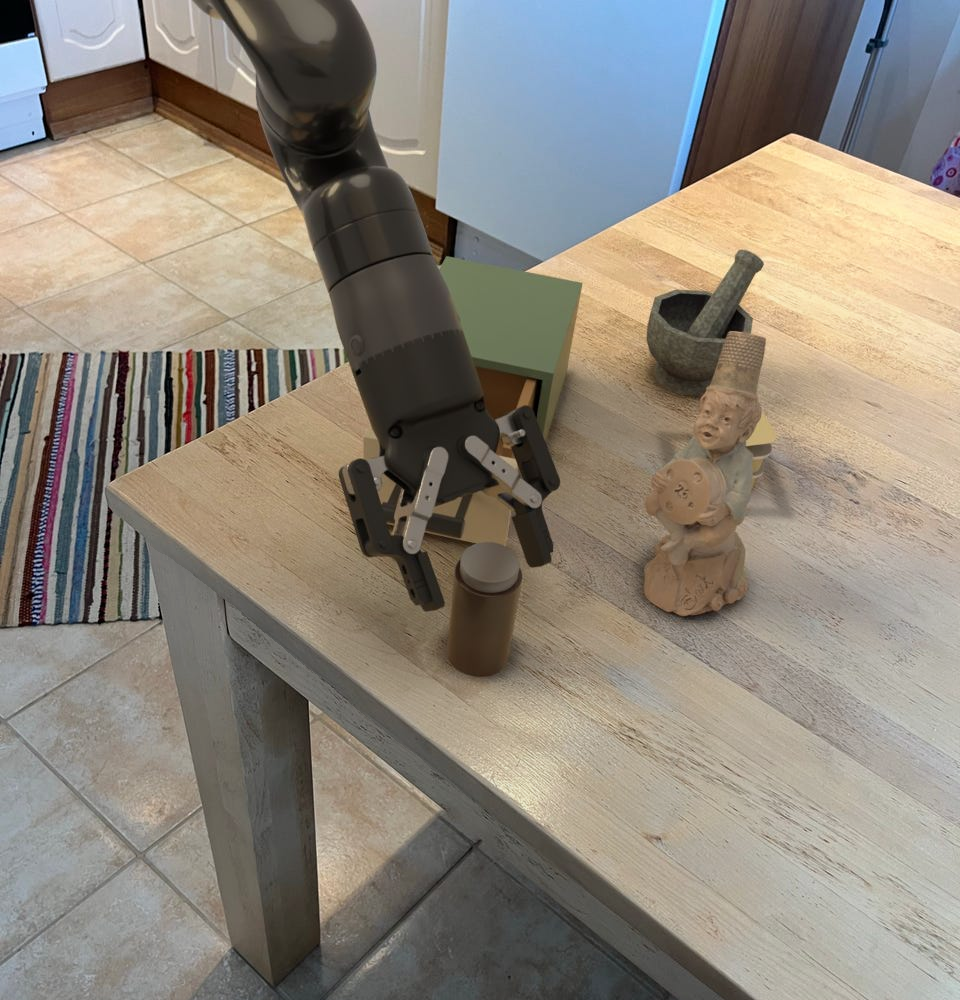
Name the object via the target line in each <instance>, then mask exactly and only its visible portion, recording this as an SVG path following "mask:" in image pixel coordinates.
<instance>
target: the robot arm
mask: <svg viewBox="0 0 960 1000" xmlns="http://www.w3.org/2000/svg"><path fill="white" fill-rule="evenodd" d="M191 1H192V2H193V4H195V5H196V6H197V8H198V9H199V10H200V11H202V12H203V13H204V14H206V15H207V16H209V17H211V18H213V19H216V20H222V21H223V22H224V24H225V25H226V26H227V28H228V29H229V30H230V32H231V33H232V35H234V37H235V39H236V40H237V41H238V43H239V44H240V45H241V47H242V49H243V50H244V52H245V53H246V55H247V57H248V59H249V61H250V63H251V65H252V67H253V69H254V71H255V102H256V108H257V113H258V117H259V120H260V123H261V127H262V130H263V133H264V136H265V139H266V141H267V144H268V146H269V149H270V151H271V154H272V156H273V158H274V161H275V163H276V165H277V167H278V169H279V172H280V174H281V176H282V178H283V180H284V182H285V184H286V186H287V188H288V191H289V193H290V194H291V197H292V198H293V200H294V203H295V204H296V207H297V209H298V210H299V211H300V214H301V215H302V218H303V221H304V224H305V227H306V231H307V235H308V239H309V242H310V246H311V249H312V251H313V254H314V257H315V260H316V263H317V265H318V268H319V271H320V274H321V276H322V277H321V278H322V279H323V283H324V285H325V288H326V290H327V291H326V292H327V293H328V296H329V300H330V304H331V307H332V311H333V316H334V321H335V325H336V330H337V333H338V336H339V339H340V342H341V345H342V347H343V351H344V354H345V356H346V358H347V359H346V360H347V361H348V364H349V367H350V370H351V373H352V376H353V379H354V383H355V384H356V387H357V390H358V392H359V393H358V394H359V395H360V399H361V401H362V404H363V407H364V409H365V412H366V415H367V418H368V421H369V424H370V426H371V427H370V428H371V429H373V432H374V434H375V435H376V437H377V439H378V442H379V447H380V452H379V457H376V458H372V459H368V460H364V459H363V458H362V457H361V458H360V457H359V458H356V459H353V460H351V461H349V462H347V463H346V464H344V465H343V466H341V467H340V469H339V471H338V478H339V481H340V486H341V489H342V492H343V495H344V498H345V503H346V505H347V508H348V512H349V515H350V518H351V522H352V525H353V528H354V532H355V535H356V538H357V542H358V545H359V548H360V551H361V553H362V555H363V556H365V557H367V558H374V557H377V558H378V557H379V558H384V557H385V558H386V557H387V558H391V559H393V560H394V561H395V562H396V563H397V566H398V568H399V571H400V575H401V577H402V579H403V582H404V584H405V588H406V590H407V594H408V596H409V599H410V600H411V602H412V603H413V604H414V605H415V607H416V606H420V607H421V609H422V610H423V611H424V612H425V613H426V612H434V611H437V610H439V609H442V608H444V607H445V605H446V604H445V603H446V602H445V599H444V596H443V593H442V590H441V587H440V585H439V582H438V580H437V576H436V574H435V570H434V568H433V565H432V562H431V560H430V557H429V554H428V551H427V550H426V551H422V550H421V547H422V543H423V540H424V536H425V533H426V532H425V529H426V525H427V522H428V521H429V520H430V518H431V516H432V514H433V510H434V507H436V506H439V505H442V504H445V503H447V502H450V501H453V500H455V499H457V498H458V497H464V496H467V495H470V494H473V493H476V492H478V491H482V492H483V493H485V494H486V495H488V496H491V497H494V498H496V499H497V500H499V501H500V502H501V503H502V504H504V505H505V506H506V507H508V508H509V509H510V510H512V511H511V512H513V513H515V515H513V516H511V518H510V519H511V521H512V524H513V527H514V530H515V533H516V535H517V538H518V541H519V544H520V547H521V550H522V554H523V556H524V559H525V562H526V564H527V565H528V567H529V568H532V569H533V568H539V567H544V566H545V565H548V564H550V563H551V562H552V553H554V541H553V538H552V536H551V532H550V530H549V527H548V523H547V521H546V518H545V515H544V512H543V506H542V505H543V503H544V501H545V500H546V498H547V497H548V496H549V495H550V494H552V493H553V492H555V491H557V490H558V489H559V488H560V487H561V479H560V476H559V474H558V471H557V468H556V465H555V463H554V460H553V458H552V455H551V453H550V450H549V447H548V445H547V443H546V442H547V441H546V442H545V440H544V437H543V435H542V432H541V429H540V427H539V424H538V422H537V419H536V416H535V414H534V411H533V409H532V408H531V407H530V406H527V405H524V406H522V407H519V408H517V409H515V410H513V411H511V412H509V413H506V414H505V415H503V417H501V418H498V419H496V420H494V419H493V418H492V417H491V416H490V414H489V413H488V412H487V410H486V408H485V405H484V395H483V389H482V386H481V383H480V380H479V377H478V374H477V371H476V368H475V365H474V362H473V359H472V357H471V354H470V351H469V347H468V344H467V342H466V339H465V335H464V333H463V330H462V327H461V324H460V319H459V316H458V314H457V312H456V309H455V306H454V303H453V300H452V297H451V294H450V292H449V289H448V287H447V285H446V283H445V281H444V279H443V277H442V275H441V273H440V271H439V269H440V268H439V266H438V263H437V261H436V259H435V257H434V253H433V250H432V248H431V244H430V241H429V239H428V236H427V235H428V234H427V233H426V230H425V227H424V224H423V223H424V222H423V221H422V218H421V215H420V211H419V209H418V206H417V204H416V200H415V197H414V196H413V194H412V191H411V189H410V188H409V186H408V184H407V182H406V180H405V179H404V178H403V176H402V175H401V174H400V173H399V172H397V171H396V170H394V169H392V168H389V166H388V163H387V161H386V157H385V155H384V152H383V150H382V147H381V145H380V142H379V139H378V137H377V135H376V131H375V128H374V126H373V120H372V116H371V111H370V106H371V101H372V97H373V94H374V90H375V85H376V80H377V74H378V73H377V72H378V71H377V70H378V69H377V67H378V66H377V55H376V50H375V46H374V43H373V39H372V37H371V34H370V32H369V29H368V27H367V25H366V23H365V21H364V19H363V18H362V16H361V13H360V12H359V9H358V8H357V7H356V5H355V3H354V1H352V0H191ZM500 437H501V438H502V441H503V442H504V443H505V444H506V445H507V446H510V447H511V449H512V452H513V454H514V457H515V459H516V462H517V465H518V467H519V470H520V471H519V472H518V471H517V470H516V469H514V468H513V467H512V466H511V465H509V464H508V463H507V462H506V461H504V460H503V459H502V458H501V457H499V456H498V455H497V454H496V451H497V447H498V442H499V438H500ZM382 474H384V475H385V476H387V477H388V478H389V479H390V480H392V481H393V482H394V483H396V484H397V485H398V486H399V487H401V492H400V496H399V499H398V503H397V507H396V511H395V515H394V519H395V524H394V525H393V529H392V532H390V529H389V526H388V525H389V524H387V522H386V519H385V515H384V512H383V508H382V505H381V502H380V498H379V495H378V491H379V490H380V489H381V487H382ZM407 504H408V505H407Z"/></svg>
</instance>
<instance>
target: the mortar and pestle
mask: <svg viewBox="0 0 960 1000" xmlns="http://www.w3.org/2000/svg"><path fill="white" fill-rule="evenodd" d="M764 266H765V264H764V261H763V260H762V259H761V258H760V257H759V256H758V255H757V254H755V253H754V252H752V251H750V250H747V249H738V250H737V252H736V253H735V254H734V262H733V263H732V265H731V266H730V268H729V269H728V271H727V272H726V273H725V275H724V276H723V278H722V280H721V281H720V283H719V284H718V285H717V287H715V289H714V292H711V291H707V290H694V289H679V288H678V289H674V290H671V291H667V292H665V293H663V294H660V295H657V296H655V297H654V299H653V302H652V306H651V310H650V314H649V316H648V321H647V325H646V339H645V341H646V343H647V347H648V351H649V354H650V355H651V356H652V357H653V358H654V360H655V361H656V365H655V369H654V371H653V378H654V379H655V380H656V381H657V383H658V384H659V385H660V386H661V388H663V389H666V390H668V391H670V392H673V393H676V394H678V395H680V396H700V397H702V396H703V394H705V392H706V388H707V387H708V386H710V384H711V381H712V378H713V376H714V373H715V370H716V367H717V364H718V361H719V357H720V354H721V351H722V347H723V345H724V342H725V339H726V337H727V334H728V332H730V331H735V332H736V331H737V332H744V333H749V334H752V329H753V321H754V318H753V316H751V315H750V314H749V312H747V311H746V310H745V309H744V308H743V307H742V306H741V305H740V304H741V302H742V300H743V298H744V297H745V295H746V293H747V290H748V289H749V287H750V285H751V283H752V281H753V279H754V278H755V275H757V274H758V273H759V272H761V271H762V269H763V267H764Z"/></svg>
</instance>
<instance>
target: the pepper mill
mask: <svg viewBox="0 0 960 1000" xmlns="http://www.w3.org/2000/svg"><path fill="white" fill-rule="evenodd" d="M520 565H521V564H520V560H519V557H518V556H517V554H516V552H514V551H513V550H512V549H511V548H510V547H507V546H506V545H505V546H504V545H501V544H498V543H493V542H481V543H477V544H476V543H473V544H472V545H470V546H468V547H466V549H464V551H463V552H462V553H461V556H460V559H459V560H458V561H457V563H456V565H455V568H454V574H453V583H452V584H453V585H452V594H451V603H450V604H451V605H450V614H449V625H448V634H447V643H446V657H447V660H448V661H449V663H450V665H452V667H453V668H454V669H456V670H457V671H458V672H460V673H462V674H464V675H467V676H471V677H475V678H485V677H490V676H493V675H496V674H498V673H499V672H501V671H502V670H503V669H505V667H506V665H507V664H508V661H509V658H510V652H511V646H512V641H513V634H514V628H515V623H516V617H517V611H518V604H519V600H520V594H521V588H522V582H523V571H522V569H521V567H520Z"/></svg>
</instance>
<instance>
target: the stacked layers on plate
mask: <svg viewBox="0 0 960 1000" xmlns="http://www.w3.org/2000/svg"><path fill="white" fill-rule="evenodd" d="M761 410H762V415H761V419H760V420H759V422H758V423H757V424H756V428H755V430H754V432H753V433H752V435H751V436H750V438H749V439H748V440H746V446H745V447H746V448H747V449H748V450H749V451H750V452H751V453H753V465H752V466H753V477H752V485H751V490H752V489H753V488H754V485H755V482H756V479H757V478H759V477H761V476H762V475H763V474H764V470H765V464H764V463H763V461H764V459H765V458H768V457H769V456H770V455H771V453H772V450H773V447H772V443H773V442H774V441H776V439H777V432H776V431H775V429H774V427H773V425H772V424H771V422H770V420H769V419H768V417H767V415H766V414H765V412H764V410H763V409H761Z"/></svg>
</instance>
